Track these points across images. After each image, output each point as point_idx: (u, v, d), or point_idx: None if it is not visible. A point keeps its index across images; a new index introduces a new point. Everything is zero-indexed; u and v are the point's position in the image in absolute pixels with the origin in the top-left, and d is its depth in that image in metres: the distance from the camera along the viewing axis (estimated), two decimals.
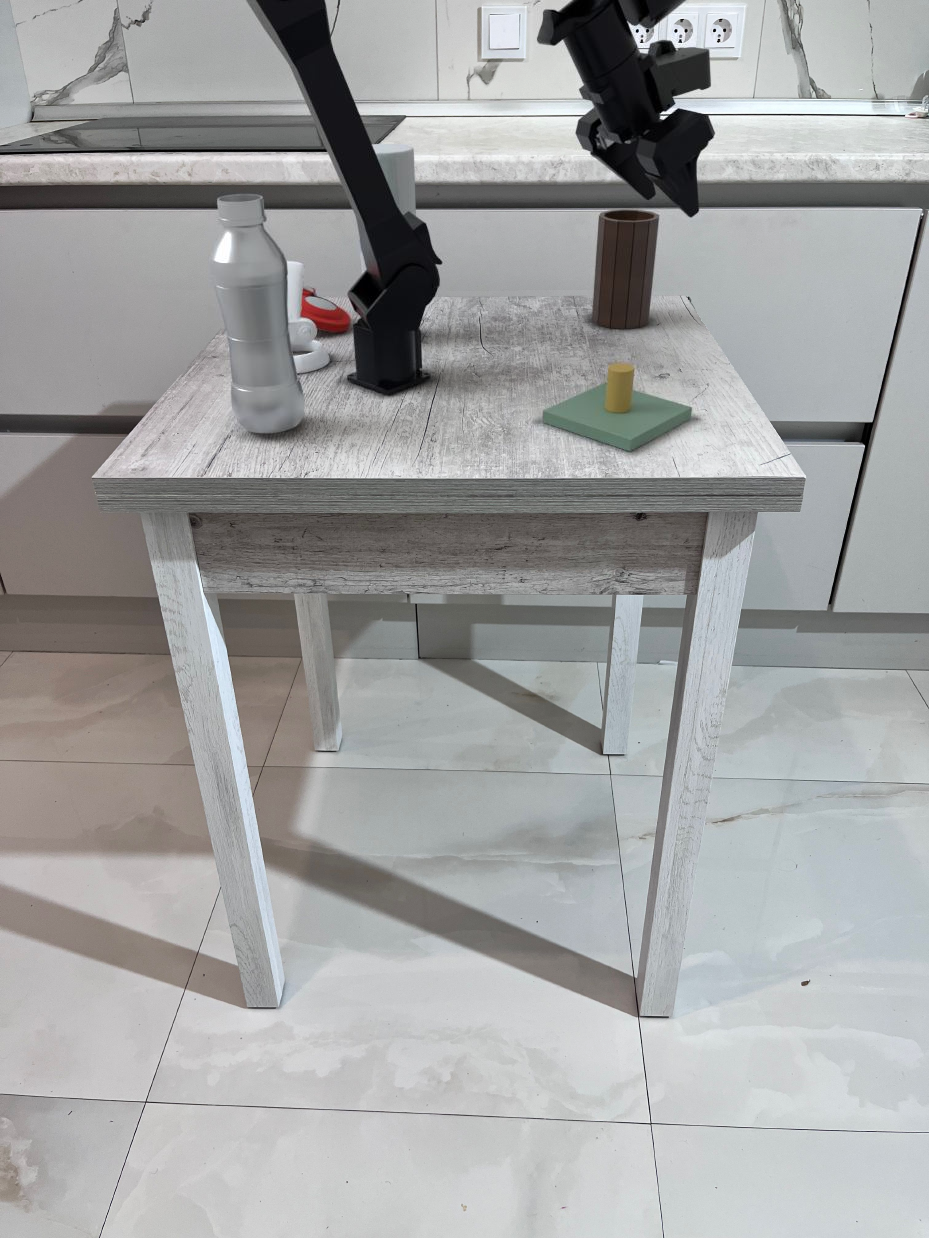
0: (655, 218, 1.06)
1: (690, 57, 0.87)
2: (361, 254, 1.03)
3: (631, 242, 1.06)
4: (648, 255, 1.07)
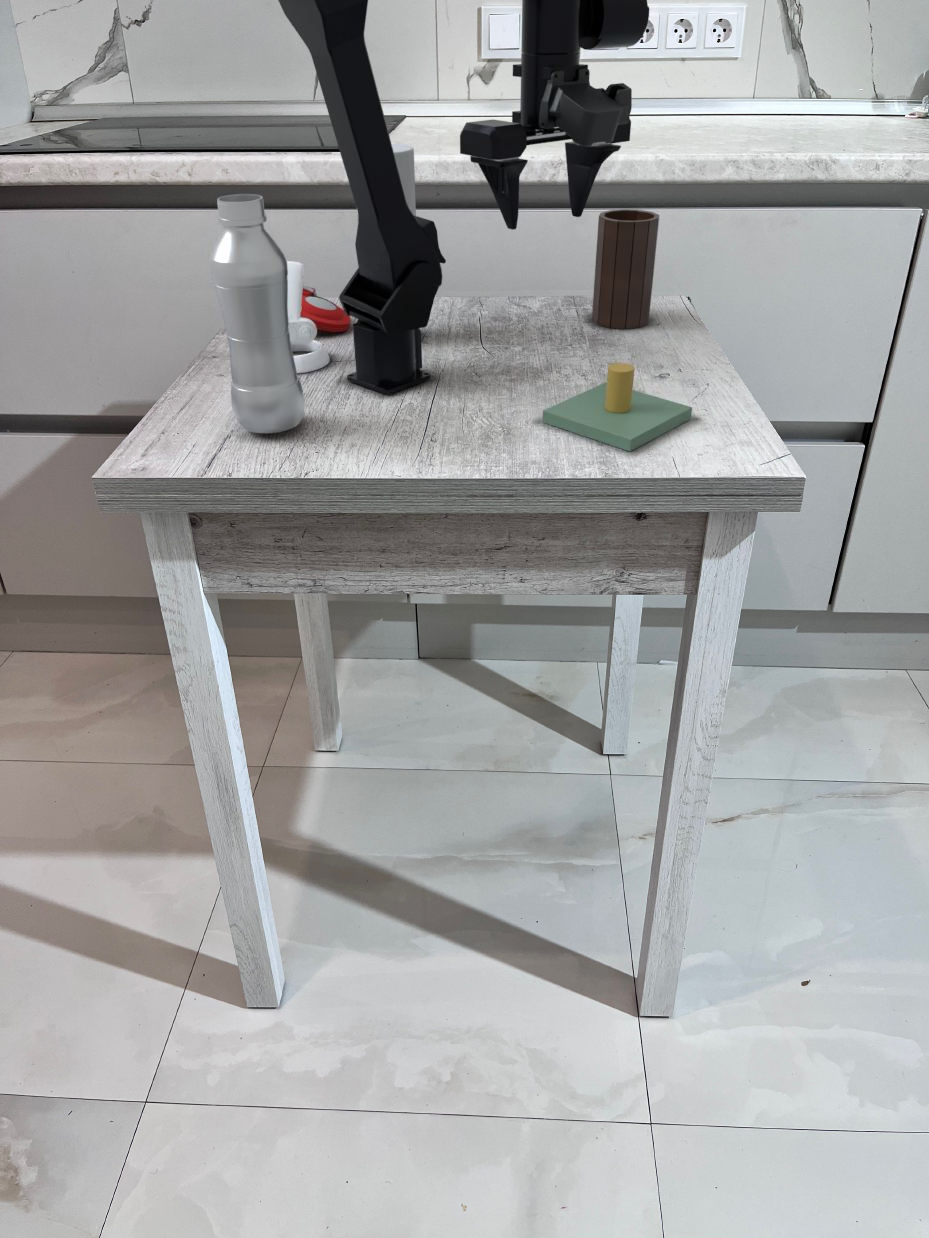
0: (655, 218, 1.06)
1: (574, 102, 0.88)
2: None
3: (631, 242, 1.06)
4: (648, 255, 1.07)
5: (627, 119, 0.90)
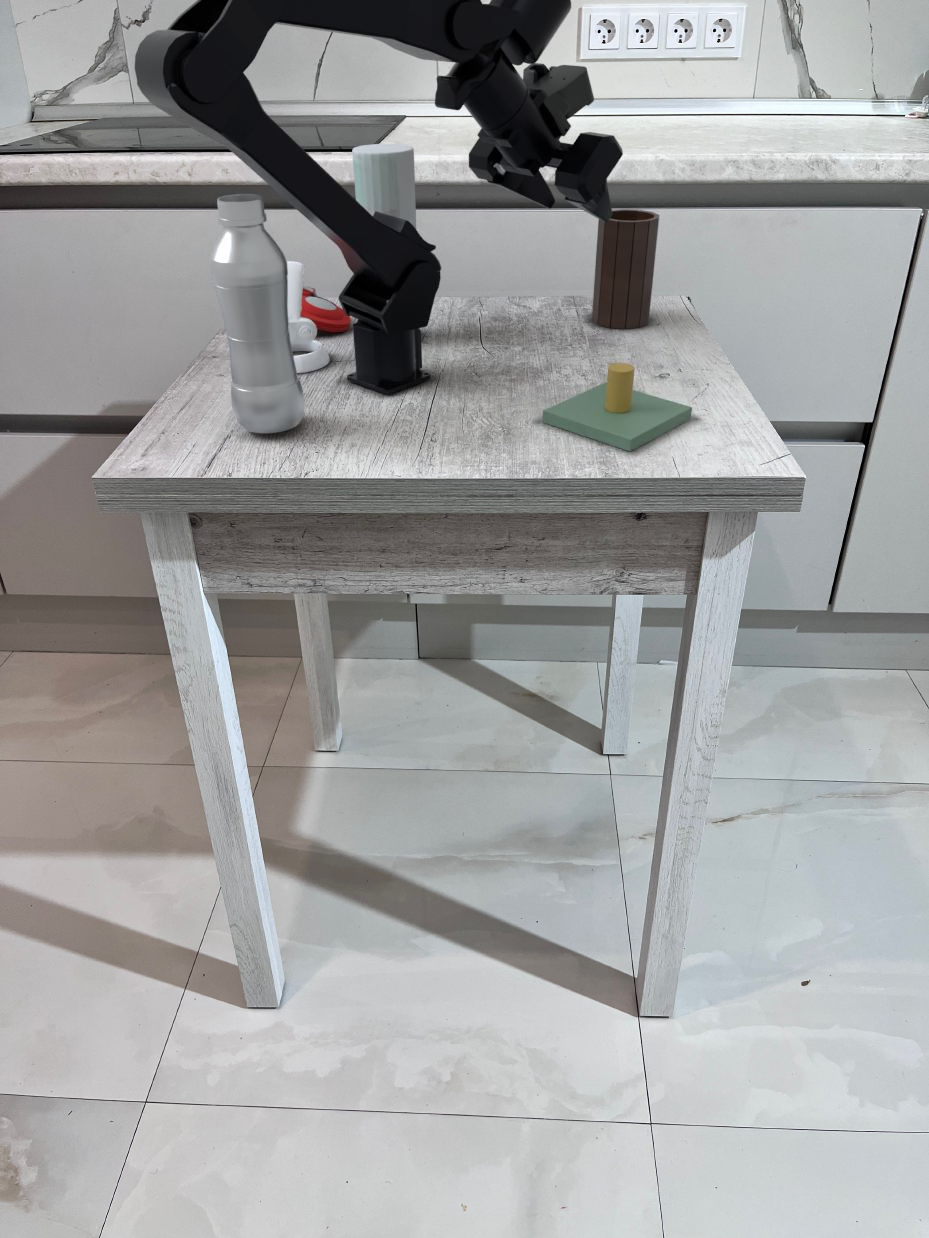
0: (655, 218, 1.06)
1: (573, 80, 0.92)
2: None
3: (631, 242, 1.06)
4: (648, 255, 1.07)
5: None
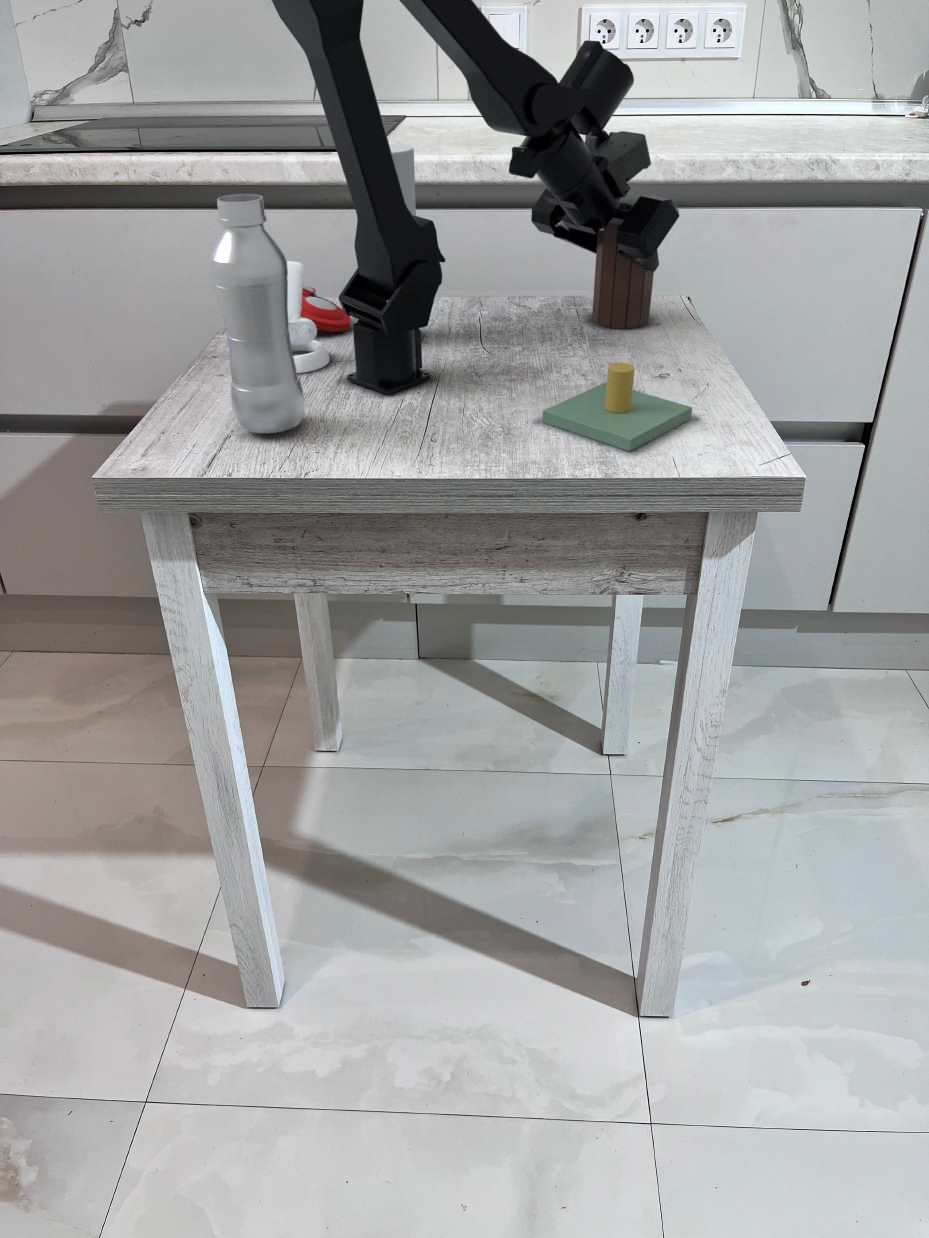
0: None
1: (633, 147, 1.00)
2: None
3: None
4: None
5: None
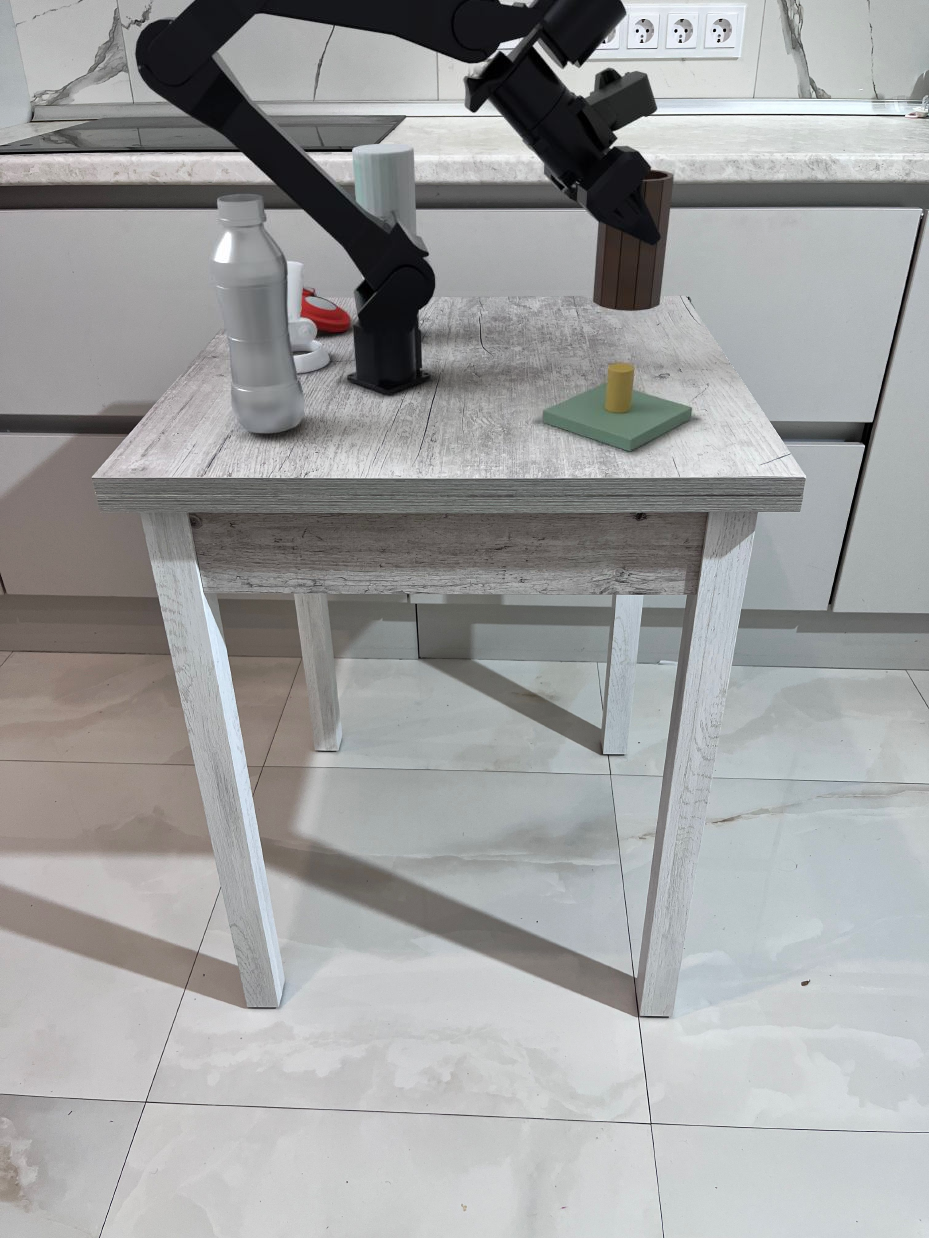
0: (659, 179, 0.87)
1: (625, 88, 0.83)
2: None
3: None
4: None
5: None
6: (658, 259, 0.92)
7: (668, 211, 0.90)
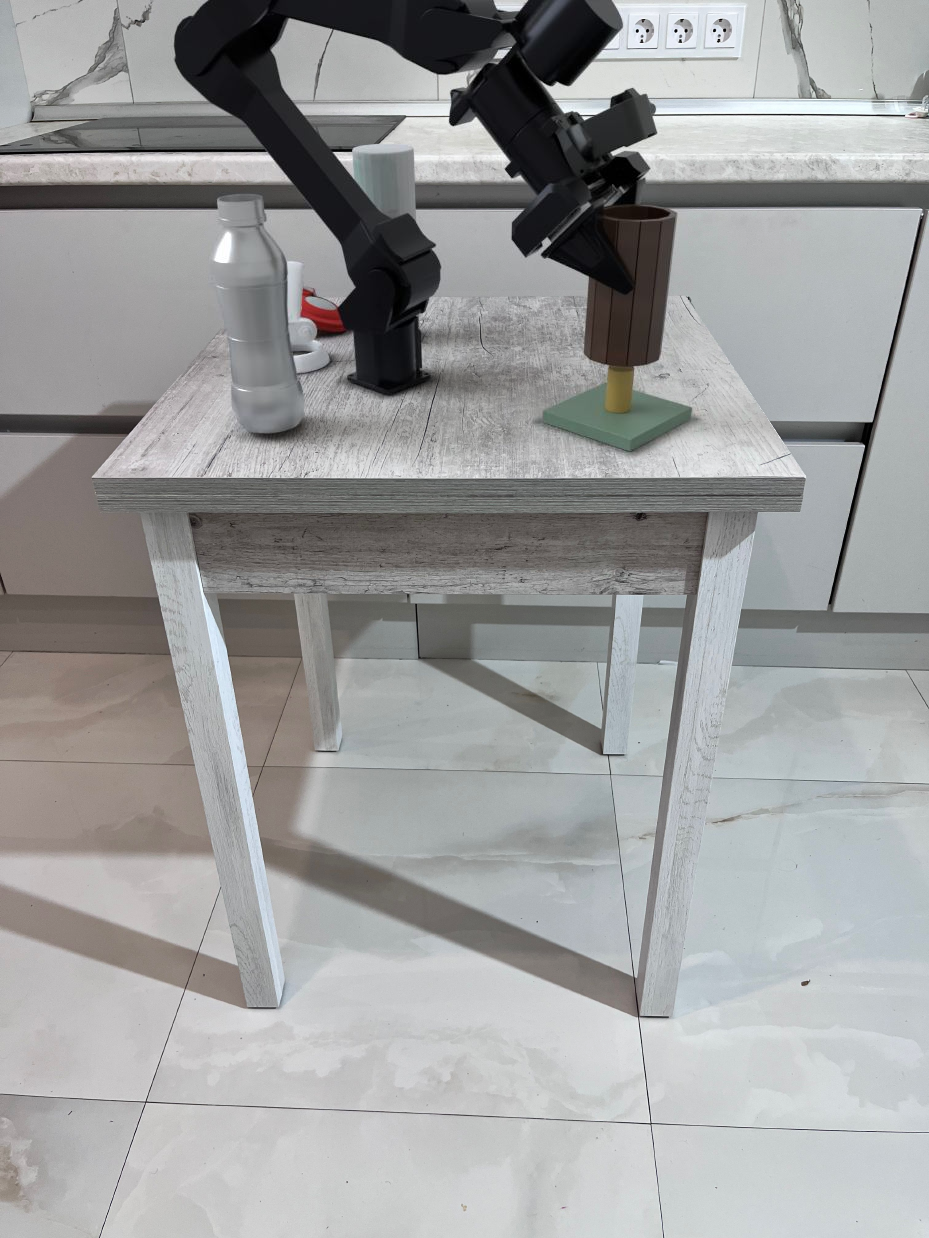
0: (637, 221, 0.75)
1: (602, 112, 0.73)
2: None
3: None
4: None
5: (653, 106, 0.76)
6: (639, 312, 0.79)
7: (655, 259, 0.77)
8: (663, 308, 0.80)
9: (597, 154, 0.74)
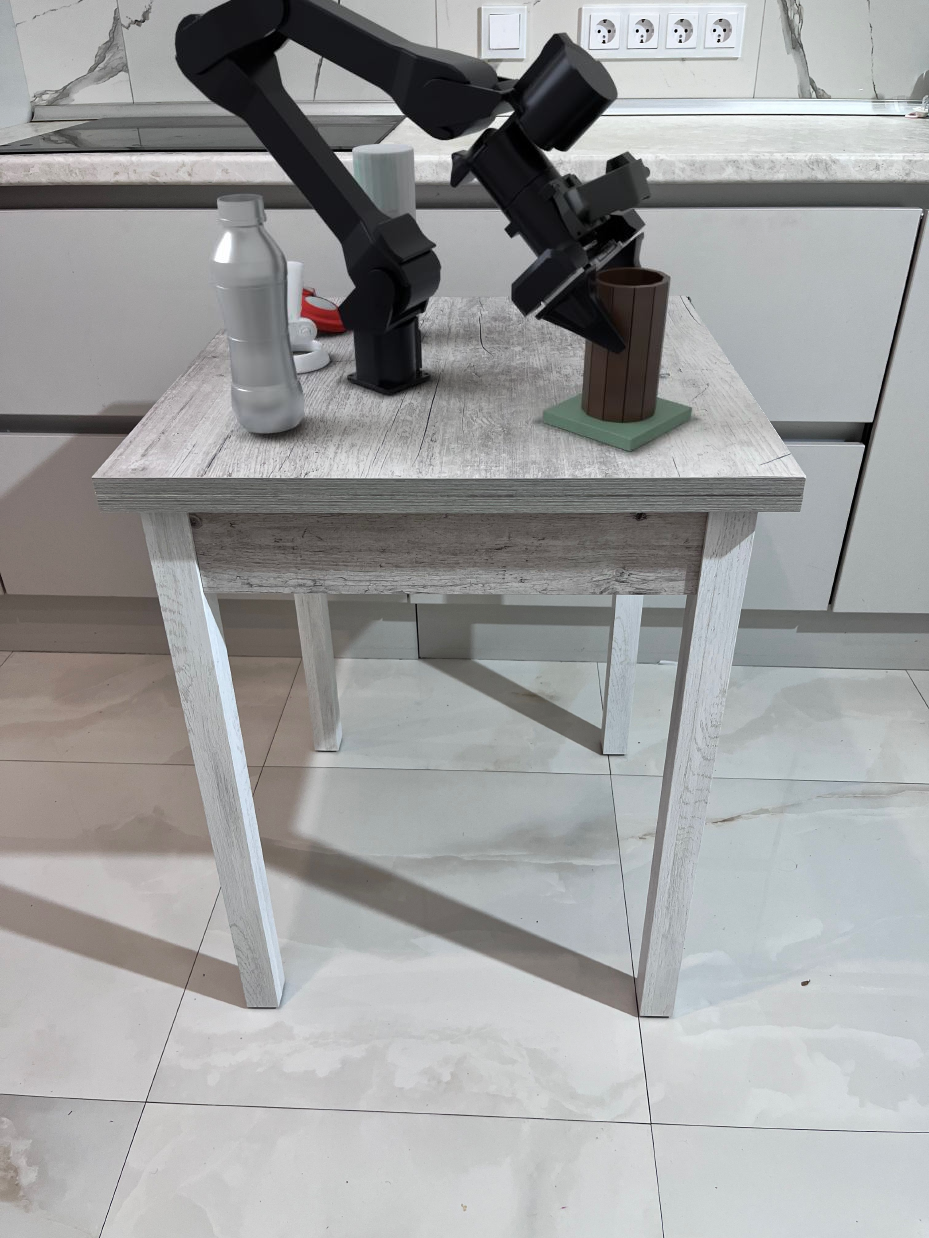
0: (631, 287, 0.78)
1: (598, 178, 0.75)
2: None
3: None
4: None
5: (648, 169, 0.78)
6: (634, 372, 0.82)
7: (649, 322, 0.80)
8: (657, 367, 0.83)
9: (593, 217, 0.77)
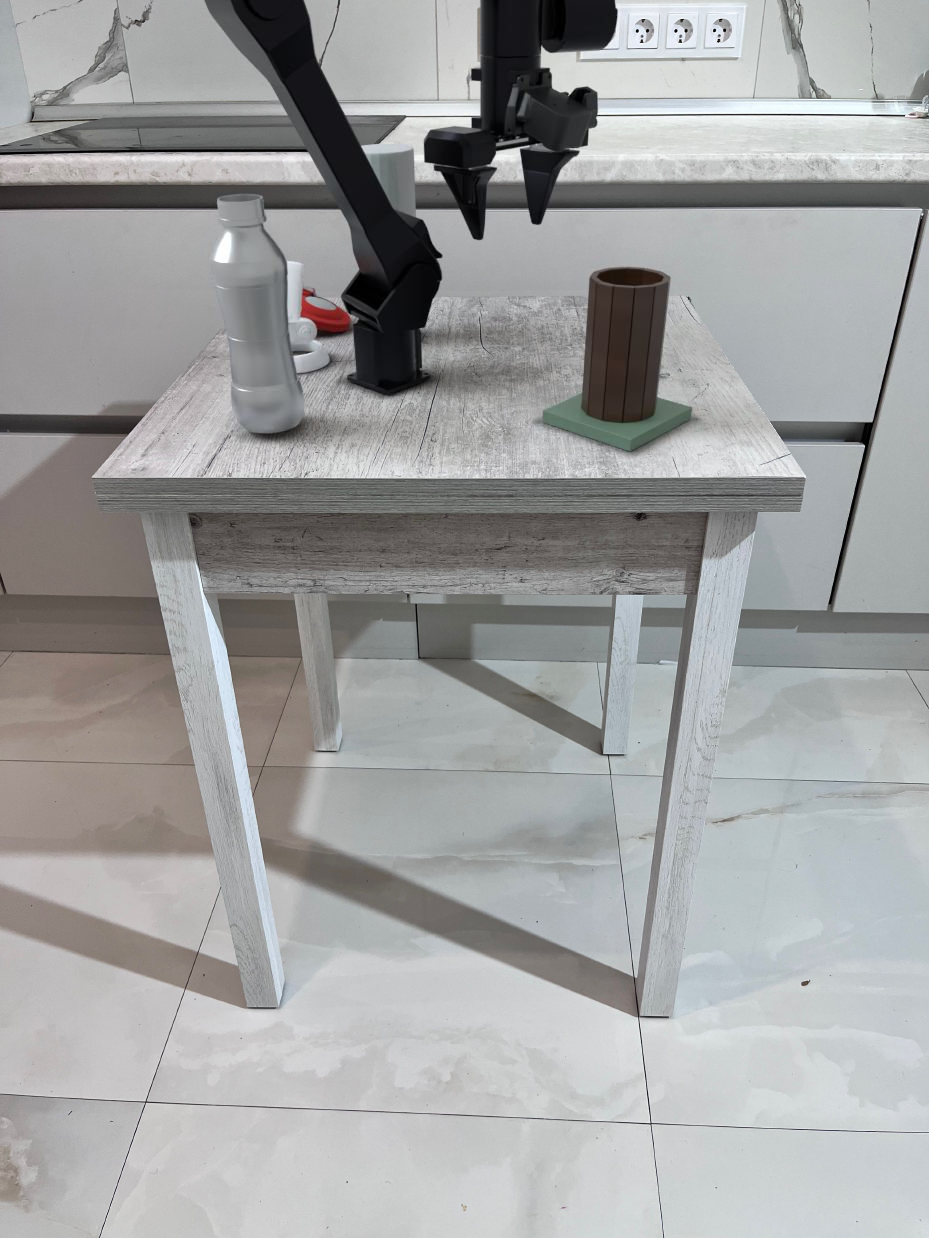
0: (631, 287, 0.78)
1: (545, 107, 0.85)
2: None
3: (594, 307, 0.81)
4: (615, 332, 0.80)
5: (595, 123, 0.88)
6: (634, 372, 0.82)
7: (649, 322, 0.80)
8: (657, 367, 0.83)
9: (525, 129, 0.87)
